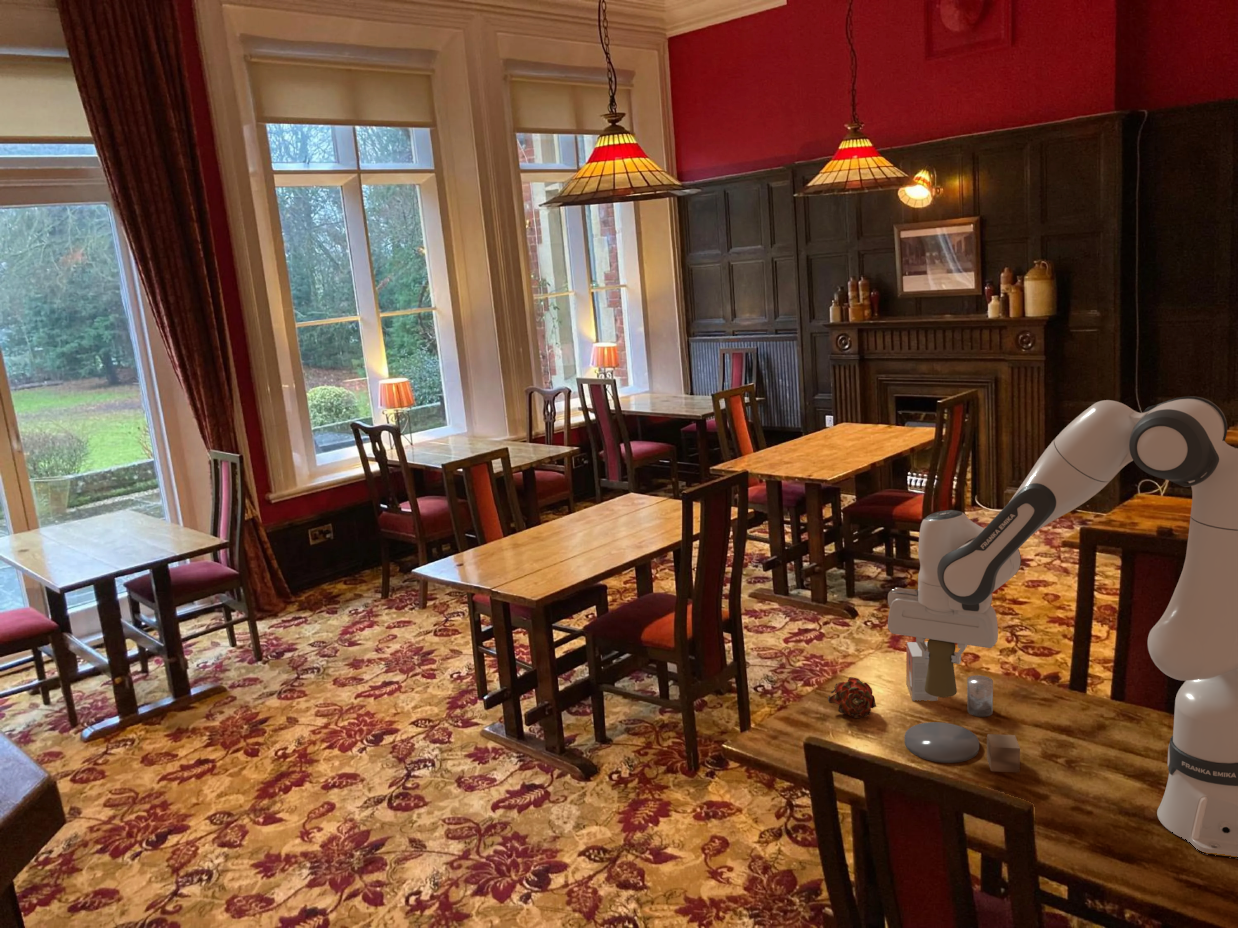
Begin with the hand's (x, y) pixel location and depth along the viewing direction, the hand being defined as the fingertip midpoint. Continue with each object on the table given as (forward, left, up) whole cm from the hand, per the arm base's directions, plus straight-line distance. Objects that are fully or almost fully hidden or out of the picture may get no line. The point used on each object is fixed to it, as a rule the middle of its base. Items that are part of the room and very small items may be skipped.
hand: (941, 660), depth 188 cm
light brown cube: (-12, +3, -18) cm, 22 cm away
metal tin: (-4, -17, -18) cm, 25 cm away
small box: (+9, -21, -18) cm, 29 cm away
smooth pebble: (0, 0, -18) cm, 18 cm away
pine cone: (+20, -6, -18) cm, 28 cm away
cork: (0, 0, -7) cm, 6 cm away
